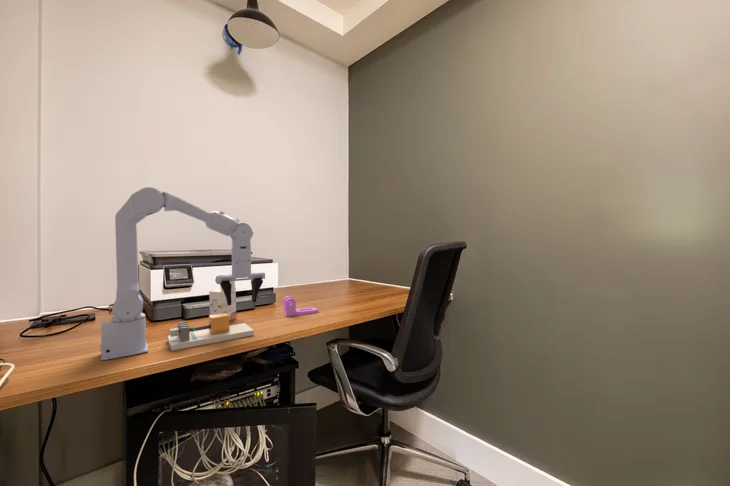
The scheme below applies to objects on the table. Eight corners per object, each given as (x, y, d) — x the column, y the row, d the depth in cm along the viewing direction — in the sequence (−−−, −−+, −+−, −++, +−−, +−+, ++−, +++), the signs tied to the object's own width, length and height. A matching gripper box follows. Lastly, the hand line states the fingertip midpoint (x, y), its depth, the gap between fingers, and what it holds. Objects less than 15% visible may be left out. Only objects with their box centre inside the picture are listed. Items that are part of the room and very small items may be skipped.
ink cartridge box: (224, 317, 117) (224, 279, 117) (236, 318, 116) (236, 279, 116) (209, 324, 109) (208, 282, 108) (221, 325, 108) (221, 282, 107)
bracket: (286, 316, 119) (286, 298, 119) (283, 313, 124) (283, 296, 124) (319, 313, 124) (318, 296, 124) (315, 310, 130) (315, 293, 129)
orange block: (211, 333, 92) (211, 318, 92) (209, 330, 95) (208, 315, 95) (229, 330, 95) (229, 315, 95) (226, 327, 98) (226, 313, 98)
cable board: (171, 350, 83) (170, 331, 83) (167, 340, 91) (167, 322, 91) (254, 334, 96) (253, 318, 96) (244, 327, 104) (244, 311, 104)
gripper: (219, 262, 91) (220, 308, 91) (268, 260, 100) (268, 302, 100) (214, 261, 97) (215, 304, 97) (260, 259, 105) (261, 298, 106)
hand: (241, 303), depth 99 cm, fingers open, 7 cm apart
